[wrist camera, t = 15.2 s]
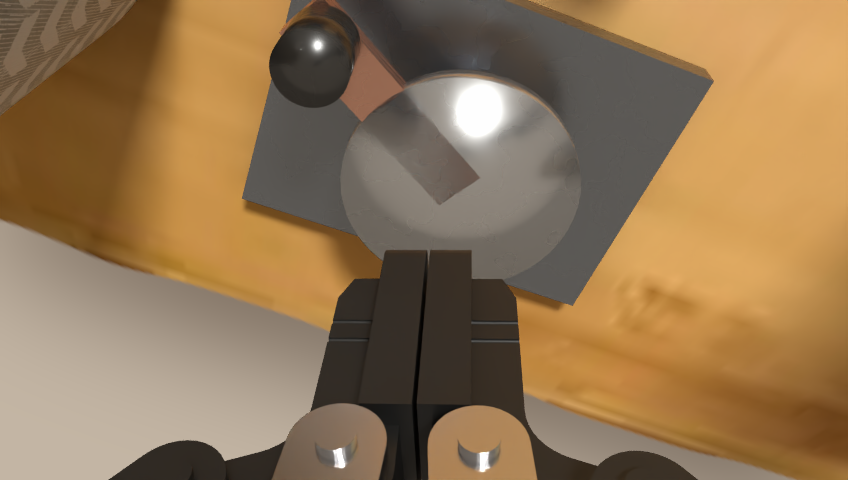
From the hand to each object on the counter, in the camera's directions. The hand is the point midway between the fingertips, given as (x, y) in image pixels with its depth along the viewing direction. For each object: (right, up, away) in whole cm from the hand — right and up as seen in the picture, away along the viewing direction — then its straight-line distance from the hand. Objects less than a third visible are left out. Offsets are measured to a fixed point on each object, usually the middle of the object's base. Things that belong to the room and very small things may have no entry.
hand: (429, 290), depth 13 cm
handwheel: (0, +5, +20) cm, 21 cm away
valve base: (+2, +7, +26) cm, 27 cm away
